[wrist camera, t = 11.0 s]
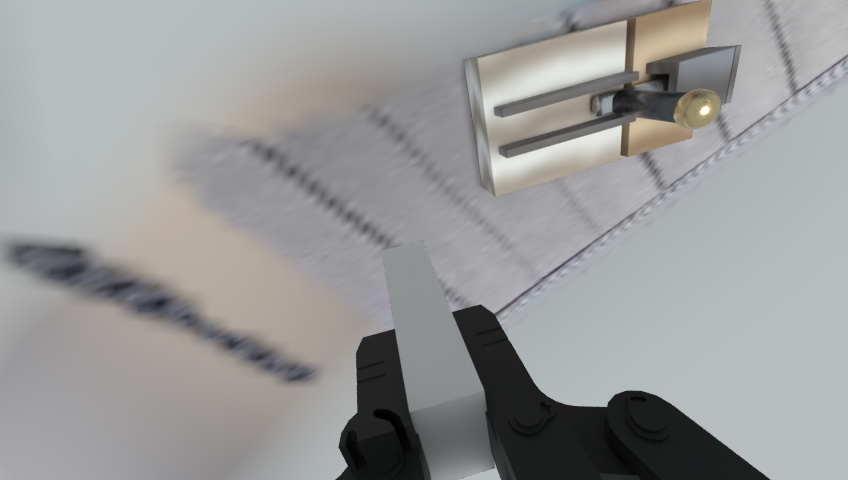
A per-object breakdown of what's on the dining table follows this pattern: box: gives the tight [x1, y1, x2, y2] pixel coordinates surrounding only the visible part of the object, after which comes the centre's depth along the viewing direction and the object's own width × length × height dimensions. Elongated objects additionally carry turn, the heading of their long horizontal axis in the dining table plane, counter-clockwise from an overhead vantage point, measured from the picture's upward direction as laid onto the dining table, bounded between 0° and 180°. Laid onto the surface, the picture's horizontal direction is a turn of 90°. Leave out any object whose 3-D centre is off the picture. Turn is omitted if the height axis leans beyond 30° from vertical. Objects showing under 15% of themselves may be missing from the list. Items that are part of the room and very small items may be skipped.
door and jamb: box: [464, 0, 742, 197], centre depth 36 cm, size 14×25×8 cm, turn 103°
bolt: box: [592, 76, 721, 129], centre depth 32 cm, size 3×12×12 cm, turn 103°
